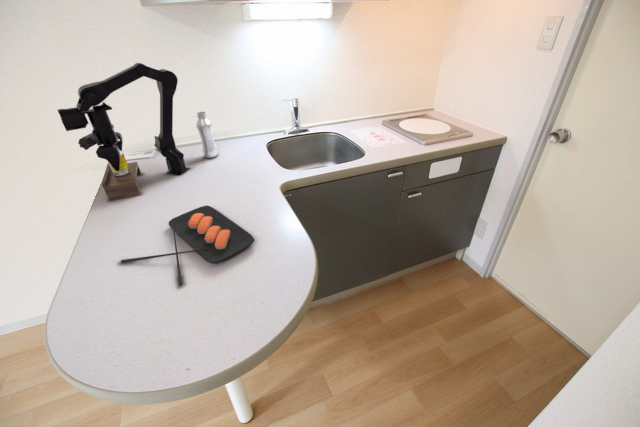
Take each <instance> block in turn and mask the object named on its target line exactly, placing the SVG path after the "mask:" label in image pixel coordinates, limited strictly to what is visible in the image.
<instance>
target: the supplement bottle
mask: <svg viewBox="0 0 640 427" xmlns="http://www.w3.org/2000/svg"><path fill="white" fill-rule="evenodd" d="M119 152H120V170H119V171H116V170H115V169H114V168H113V167H112V165H111V164H110V163H109V162H108V161H107V164H108V163H109V165H110V167H111V169H112V172H113V174H114V175H115V176H123V175H126V174H128V173H129V172H130V169H129V167H128V164H127V163H128V162H127V160H126V157H125V154H124V152H123V150H122V151H119Z"/></svg>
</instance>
